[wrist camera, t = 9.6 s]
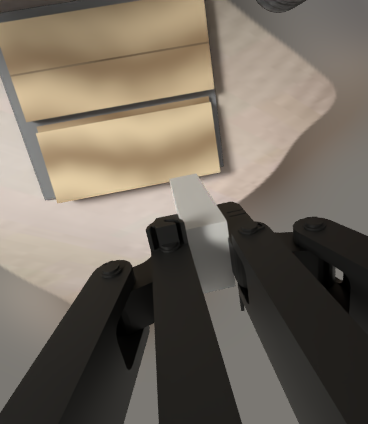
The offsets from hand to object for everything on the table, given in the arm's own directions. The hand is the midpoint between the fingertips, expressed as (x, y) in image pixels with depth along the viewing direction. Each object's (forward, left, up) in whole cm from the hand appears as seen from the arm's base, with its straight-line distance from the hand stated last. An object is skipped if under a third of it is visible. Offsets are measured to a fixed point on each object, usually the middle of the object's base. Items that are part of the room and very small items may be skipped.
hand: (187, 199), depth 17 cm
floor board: (-9, -4, -17) cm, 19 cm away
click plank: (-1, -4, -16) cm, 16 cm away
